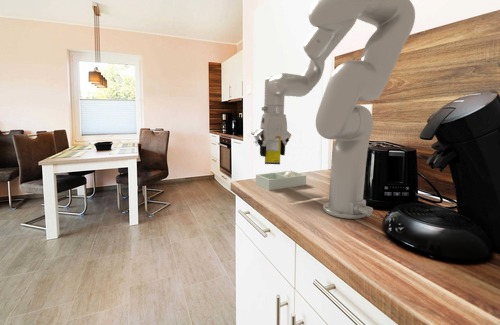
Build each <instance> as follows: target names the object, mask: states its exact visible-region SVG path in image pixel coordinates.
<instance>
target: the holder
mask: <svg viewBox="0 0 500 325" xmlns="http://www.w3.org/2000/svg"><path fill="white" fill-rule="evenodd" d="M289 171H290V172H293V173H294V174H295V176H293V177H286V176H284V174H285V173H286V172H289ZM255 185H257V186H259V187H261V188H263V189H265V190H267V191H274V190H275V191H276V190H282V189H287V188H295V187H302V186H306V185H307V174H304V173H301V172H298V171H297V172H296V171H293V170H287V171H279V172H278V171H277V172H269V173H268V172H267V173H259V174H255Z"/></svg>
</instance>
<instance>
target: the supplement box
mask: <svg viewBox="0 0 500 325" xmlns="http://www.w3.org/2000/svg"><path fill="white" fill-rule="evenodd" d="M265 146H266V157H264V165H281V155H280V148H281V136H276V137H275V140H272V141H269V140H268V141H267V143H266V144H265Z"/></svg>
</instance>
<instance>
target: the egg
mask: <svg viewBox="0 0 500 325" xmlns="http://www.w3.org/2000/svg"><path fill="white" fill-rule="evenodd" d="M288 171H289V172H286V173H285V174H284V176H286V177H293V176H295V174H294V173H293V172H290V171H291V170H288Z"/></svg>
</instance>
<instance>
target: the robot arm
mask: <svg viewBox="0 0 500 325" xmlns="http://www.w3.org/2000/svg"><path fill="white" fill-rule="evenodd" d="M415 10H416V9H415V6H414V4H413V3H412V1H411V0H314V1H313V2H312V3H311V5H310V8H309V12H308V20H309V22H310V25H311V26H313V27H314V29H313V30H312V32H311V33H310V34H309V35H308V36H307V38H306V39H305V41H304V42H303V50H304V52H305V54H306V56H308V58H309V59H310V62H309V64H308V66H307V68H306V69H305V70H304V72H303V73H302V74H293V73H286V72H285V73H284V72H282V73H278V74H277V75H273V76H272V75H271V76H268V77H265V79H264V102H263V103H264V105H263V107H261V111H263V112H264V113H263V114H262V117H261V119H260V120H261V122H260V129H259V131H257V132H256V133H255V134H254V135H253V137H254V140H255V141H256V143H257V145H258V146H259V155H260V157H264V158H265V157H266V146H265V144H266V143H267V141H268V140H269V141H272V140H275V137H276V136H281V148H280V156H285V154H286V146H287V145H288V143H289V141H290V139H291V137H292V134H291V133H290V132H289V131H288V121H287V115H286V114H285V113H284V112H285V96H286V97H296V98H297V97H298V98H300V97H302V98H303V97H305V96H307V94H309V93H310V92H312V90H313V89H314V88H315V87H316V85H317V84H318V83H319V82H320V81H321V78H322V76H323V73H324V70H325V64H326V63H325V62H326V60H327V59H328V57H329V56H330V55H331V54H332V52H333V51H334V50H335V49H336V47H337V46H338V45H339V44H340V43H341V41H342V40H343V39H344V37H346V35H347V34H348V33H349V32H350V31H351V30H352V28H353V27H354V25H356V21H357V20H359V21H361V22H364V23H367V24H370V25H373V26H374V27H375V28H376V30H375V32H373V33H372V34H371V35H370V36H369V39H367V42H366V44H365V45H364V48H363V51H362V54H361V56H360V57H359V60H356V59H349V60H345V61H344V62H342V63H340V64H339V65H338V66H337V67H336V68H335V70H334V71H333V72H332V73H331V75H330V77H329V79H328V82H327V85H326V88H325V91H324V93H323V96H322V99H321V101H320V104H319V107H318V110H317V113H316V118H315V129H316V131H317V133H318V134H319V135H320V136H321V137H322V138H324V139H327V140H335V142H334V144H333V147H332V152H331V160H330V161H331V162H330V164H331V165H330V178H329V192H328V201H327V202H325V203H324V204H323V205H322V210H323V211H324V212H325V213H326V214H327V215H330V216H333V217H335V218H341V219H349V220H353V219H354V220H355V219H356V220H357V219H358V220H359V219H362V218H365V217H371V215H372V213H373V211H374V208H373V207H371V206H368V205H367V200H366V199H364V190H365V181H366V167H367V160H368V159H367V158H368V149H369V143H370V139H371V137H372V136H371V135H372V132H373V127H374V118H373V115H372V112H371V111H370V110H369V108H367V107H365V106H363V105H361V104H357V103H358V102H372V101H375V100H377V99H378V98H379V97H380V96H382V94H383V92H384V90H385V88H386V86H387V84H388V81H389V79H390V77H391V74H392V73H393V70H394V69H395V66H396V64H397V62H398V60H399V58H400V54H401V52H402V51H403V48H404V47H405V44H406V42H407V41H408V39H409V37H410V35H411V32H412V31H413V27H414V25H415V20H416V11H415Z"/></svg>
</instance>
